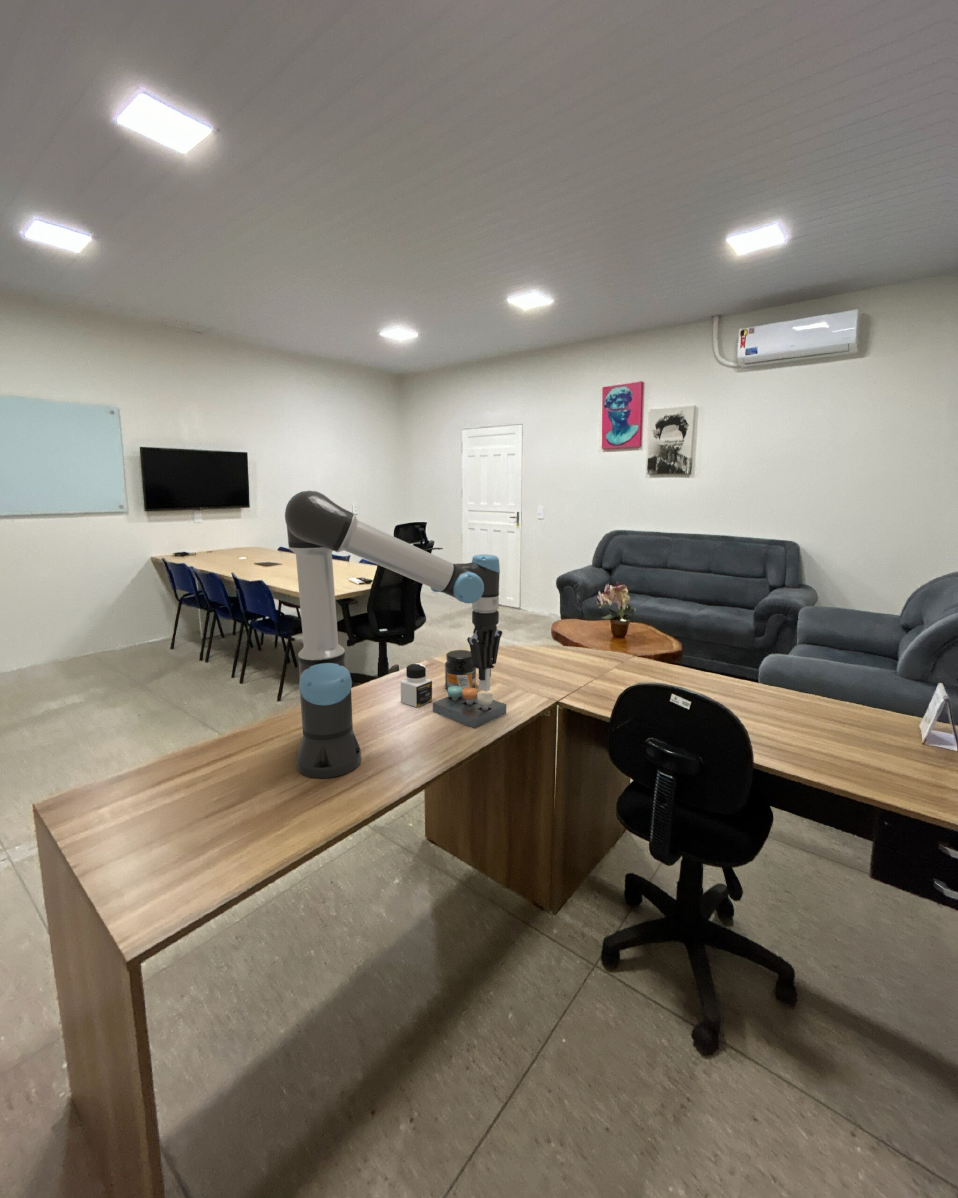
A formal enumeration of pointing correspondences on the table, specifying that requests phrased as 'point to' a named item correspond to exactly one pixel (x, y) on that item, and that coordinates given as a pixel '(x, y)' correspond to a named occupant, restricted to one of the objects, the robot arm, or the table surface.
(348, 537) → the robot arm
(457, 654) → the supplement container
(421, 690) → the medicine bottle
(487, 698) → the ivory button
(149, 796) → the table surface
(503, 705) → the console
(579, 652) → the table surface
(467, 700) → the orange button
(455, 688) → the teal button
